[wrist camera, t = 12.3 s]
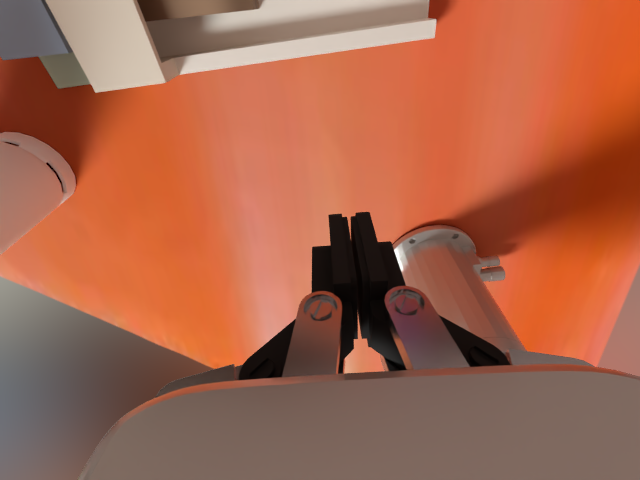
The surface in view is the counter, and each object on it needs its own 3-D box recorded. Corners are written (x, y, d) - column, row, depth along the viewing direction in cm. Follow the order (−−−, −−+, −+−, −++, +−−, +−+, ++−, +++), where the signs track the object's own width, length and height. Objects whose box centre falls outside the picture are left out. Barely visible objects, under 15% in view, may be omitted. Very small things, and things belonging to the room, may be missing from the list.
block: (60, -34, 22) (20, -40, 19) (97, 46, 25) (68, 53, 22) (-6, -26, 22) (-57, -31, 19) (40, 52, 25) (2, 60, 22)
